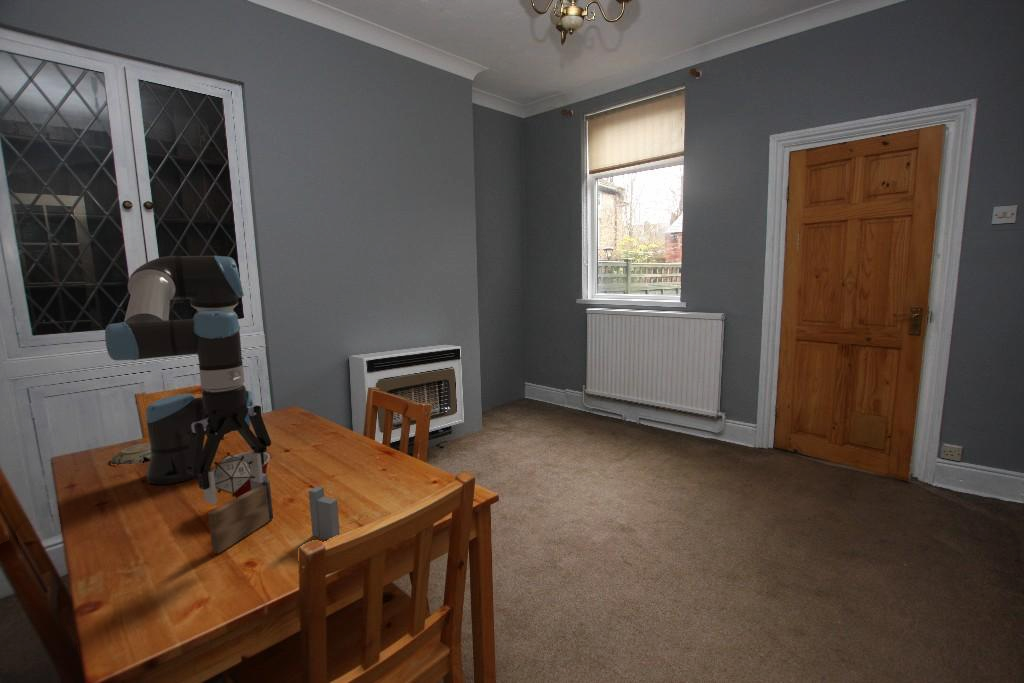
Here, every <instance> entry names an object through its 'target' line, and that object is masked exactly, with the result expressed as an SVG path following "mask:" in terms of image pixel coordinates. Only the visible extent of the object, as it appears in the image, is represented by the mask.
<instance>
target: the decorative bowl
mask: <svg viewBox="0 0 1024 683" xmlns="http://www.w3.org/2000/svg"><path fill="white" fill-rule="evenodd" d="M144 458H145V459H146V460H147V459H148V460H150V458H151V447H150V442H149V443H148V442H147V443H145V442H144V443H139V444H134V445H129V446H128V447H125V448H123V449H121V450H120V452H117V453H116V454H115V455H114V456H113V457H112V458H111V460H110V462H111V463H112V464H117V465H119V464H132V463H139V462H143V461H144V462H145V460H144Z"/></svg>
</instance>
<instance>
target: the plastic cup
mask: <svg viewBox="0 0 1024 683" xmlns="http://www.w3.org/2000/svg"><path fill="white" fill-rule="evenodd" d="M249 452H250V451H245V452H242V453H237V454H236V455H235V454H234V455H233V456H234V457H237V458H241V457H242V456H244V459H243V460H245V461H246V462H248V463H249V462H250V458H249ZM263 455H264V465H262V473H263V474H267V469H268V464H269V461H270V458H271V456H270V454H269V453H267V452H265V453H263ZM249 465H250V464H249ZM250 471H251V468H250ZM245 484H247V486H244V485H243V486H242V487H241V488H240V489H239V490H238V491H236V492H235V493H234V494H235V497H234V498H237V497H239V496H241V495H243V494H245V493H247V492H248V491H250V490H251V483H250V479H249V480H248V481H247V482H246V483H245Z"/></svg>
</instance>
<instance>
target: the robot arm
mask: <svg viewBox="0 0 1024 683" xmlns="http://www.w3.org/2000/svg"><path fill="white" fill-rule="evenodd" d="M127 291H128V292H129V296H130V297H129V300H128V305H127V309H126V313H125V317H124V321H121V322H117V323H110V324H107V325H106V328H105V331H104V339H105V346H106V351H107V354H108V356H109V358H110V359H112V360H114V361H117V362H118V361H138V360H146V359H154V358H155V359H156V358H167V357H175V356H176V357H179V356H189V355H197V358H198V364H199V365H198V367H199V368H198V369H199V376H200V378H199V380H200V387H201V389H203V390H202V393H201V397H195V395H194V393H180V394H173V395H170V396H167V397H163V398H160V399H158V400H155V401H152V402H151V403H150V404H149V405H148V406H147V407H146V408H145V409H146V410H145V413H146V414H145V415H146V420H145V423H146V424H147V430H148V438H149V443H150V447H151V458H150V459H149V463H148V466H147V471H146V479H147V480H146V481H147V482H148V483H149V482H150V483H153V484H152V485H154V484H167V485H174V484H177V483H178V482H179V483H183V482H185V481H186V482H187V481H190V480H193V479H195V478H197V481H198V487H199V489H201V490H203V495H204V502H205V503H208V504H212V505H215V504H218V496H217V488H216V487H215V478H214V472H212V471H211V468H212V464H213V463H214V460H215V456H216V454H217V451H218V449H219V445H220V443H221V440H223V439H224V437H225V435H227V434H229V433H230V432H238V434H240V436H241V437H242V439H243V440H244V441H245V442H246V444H247V445H248V446H249V447H250V449H251V450H252V451H248V452H249V458H250V461H253V462H252V463H251V464H250V468H251V476H255V477H256V478H254V479H253V478H252V481H255V482H258V483H261V482H263V474H262V465H264V455H263V453H267V450H268V449H267V447H270V446H271V445H272V440H271V439H270V436H269V432H268V430H267V427H266V425H265V422H264V419H263V417H262V406H260V405H256V404H254V395H253V392H252V391H251V390H248V389H247V386H246V385H245V373H244V365H243V364H244V363H243V357H242V356H243V355H242V345H241V344H242V343H241V342H242V341H241V334H240V328H241V327H240V326H241V325H240V323H239V318H238V314H237V313H236V312H235V310H234V309H235V308H236V306H238V305H239V299H241V298H243V297H244V291H243V286H242V282H241V278H240V274H239V269H238V266H237V263H236V261H235V259H234V258H232V257H231V256H222V255H180V256H179V255H167V256H162V257H157V258H155V259H152V260H150V261H147V262H145V263H143V264H142V265H140V266H139V267H137V268H136V269H135V270H134V271H133V272H132V273H131V275H130V277H129V279H128V282H127ZM171 300H189V301H190V306H191V307H192V308H194V309H195V310H197V313H195V314H194V315H193V318H189V319H188V318H187V319H186V318H185V319H184V318H183V319H171V320H170V319H169V318H170V303H171ZM250 426H252V429H253V431H254V432H253V431H252V430H251V428H250ZM254 433H255V434H254ZM205 437H206V441H205ZM209 470H210V471H209ZM182 481H183V482H182ZM150 483H149V484H150ZM173 483H174V484H173Z"/></svg>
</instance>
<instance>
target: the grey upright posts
mask: <svg viewBox="0 0 1024 683" xmlns="http://www.w3.org/2000/svg"><path fill="white" fill-rule="evenodd" d="M262 474H263V473H262ZM264 481H269V475H268V473H266V474H263V482H264ZM263 482H261V483H258V482H255V481H252V478H250V483H251V490H252V489H254V488H256V487H258V486H260V485H263ZM308 498H309V510H310V512H309V513H310V521H311V522H310V524H311V533H312V534H311V535H312V537H314V536H317V537H319V538H318V539H323V540H327V539H329V538H332V537H334V536H336V535H339V534H340V533H341V532H340V522H339V508H338V507H339V506H338V499H336V498H331V497H328V496H325V489H324V487H322V486H319V485H317V486H315V487H313V488H311V489H309V490H308ZM317 537H316V538H317Z"/></svg>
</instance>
